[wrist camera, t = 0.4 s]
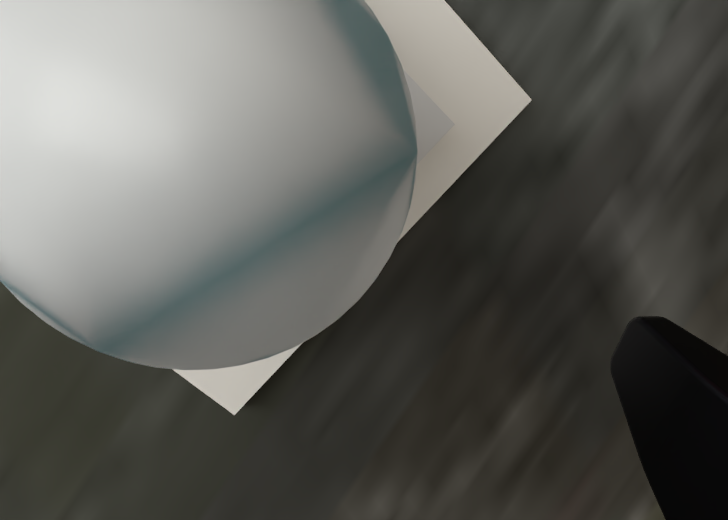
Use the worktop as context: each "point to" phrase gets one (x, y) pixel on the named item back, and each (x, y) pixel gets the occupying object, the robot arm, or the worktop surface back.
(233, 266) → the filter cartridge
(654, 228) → the worktop surface
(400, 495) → the worktop surface
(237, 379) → the white square stand
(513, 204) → the worktop surface
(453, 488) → the worktop surface
